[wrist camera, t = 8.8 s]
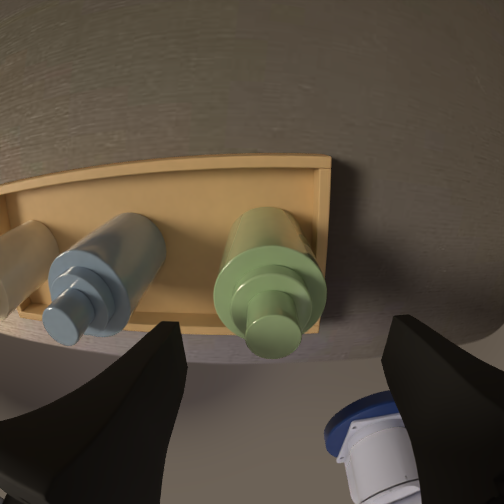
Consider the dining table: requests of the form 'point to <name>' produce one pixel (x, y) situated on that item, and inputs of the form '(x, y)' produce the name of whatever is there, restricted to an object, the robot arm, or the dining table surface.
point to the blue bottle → (103, 278)
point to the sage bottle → (269, 282)
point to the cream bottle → (24, 263)
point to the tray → (175, 219)
